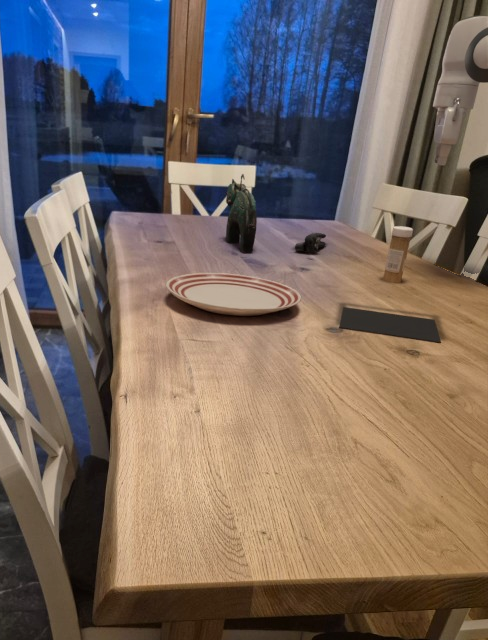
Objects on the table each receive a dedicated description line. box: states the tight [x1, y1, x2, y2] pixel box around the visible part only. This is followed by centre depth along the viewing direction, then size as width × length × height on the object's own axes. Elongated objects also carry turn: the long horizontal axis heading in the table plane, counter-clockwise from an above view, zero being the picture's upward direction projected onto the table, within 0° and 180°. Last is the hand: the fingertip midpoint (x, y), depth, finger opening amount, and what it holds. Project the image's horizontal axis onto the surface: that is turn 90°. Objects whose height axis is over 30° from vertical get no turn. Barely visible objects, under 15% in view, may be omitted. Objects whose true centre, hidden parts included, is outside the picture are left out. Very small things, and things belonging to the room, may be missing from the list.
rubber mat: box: [338, 306, 442, 344], centre depth 111 cm, size 18×14×1 cm
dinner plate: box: [165, 272, 302, 317], centre depth 117 cm, size 27×27×3 cm
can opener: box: [294, 231, 327, 254], centre depth 171 cm, size 18×7×6 cm, turn 148°
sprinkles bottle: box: [382, 225, 414, 284], centre depth 137 cm, size 5×5×13 cm
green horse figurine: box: [225, 173, 258, 254], centre depth 166 cm, size 20×6×20 cm, turn 11°
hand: (439, 164), depth 139 cm, fingers open, 8 cm apart
